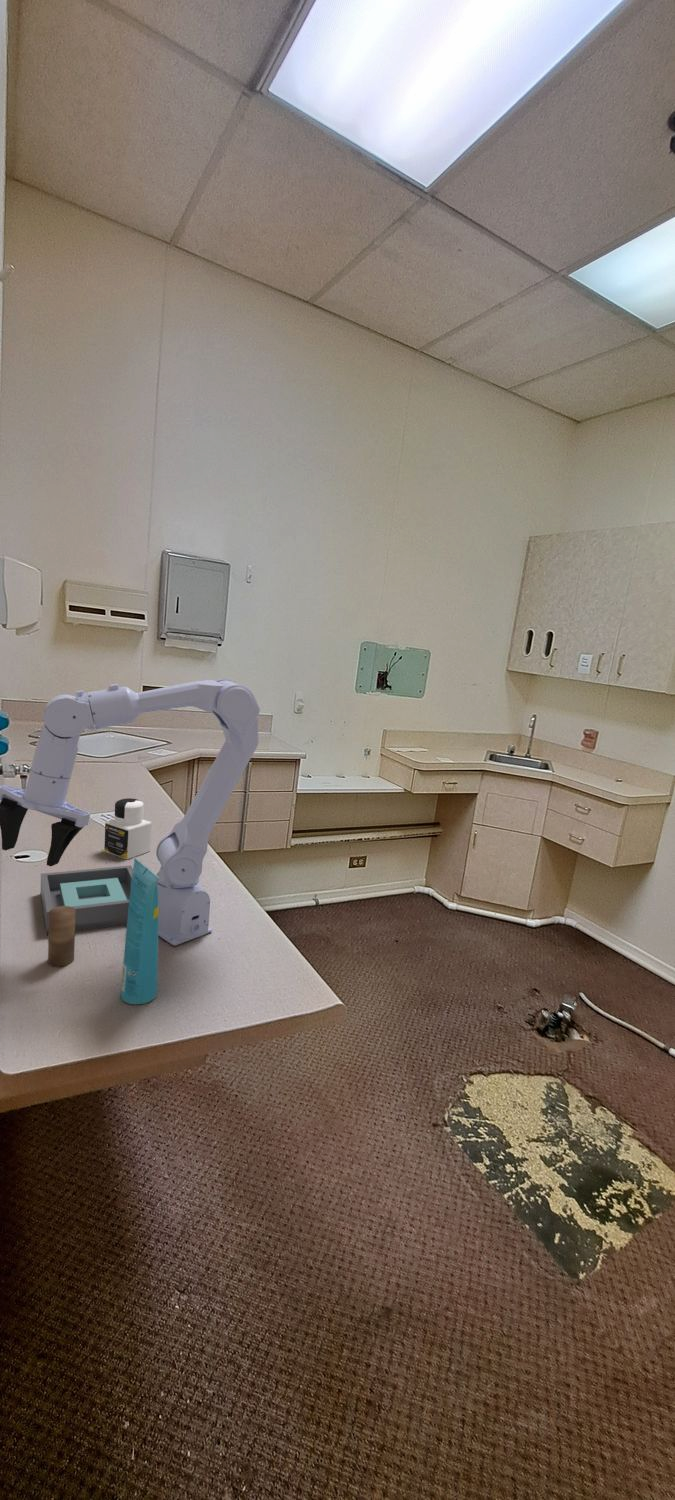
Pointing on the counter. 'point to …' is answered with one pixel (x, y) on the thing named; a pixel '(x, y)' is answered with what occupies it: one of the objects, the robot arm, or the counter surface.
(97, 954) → the counter surface
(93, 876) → the tray
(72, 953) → the peg
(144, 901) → the tube
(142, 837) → the medicine bottle
